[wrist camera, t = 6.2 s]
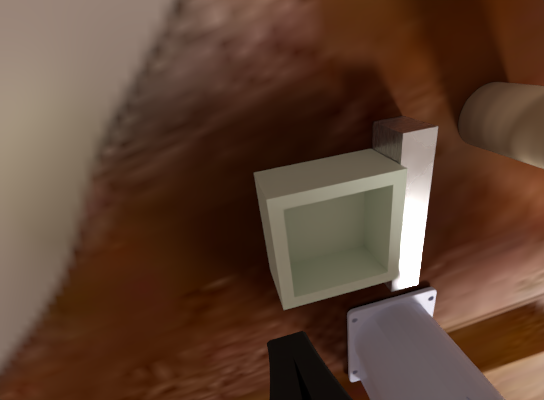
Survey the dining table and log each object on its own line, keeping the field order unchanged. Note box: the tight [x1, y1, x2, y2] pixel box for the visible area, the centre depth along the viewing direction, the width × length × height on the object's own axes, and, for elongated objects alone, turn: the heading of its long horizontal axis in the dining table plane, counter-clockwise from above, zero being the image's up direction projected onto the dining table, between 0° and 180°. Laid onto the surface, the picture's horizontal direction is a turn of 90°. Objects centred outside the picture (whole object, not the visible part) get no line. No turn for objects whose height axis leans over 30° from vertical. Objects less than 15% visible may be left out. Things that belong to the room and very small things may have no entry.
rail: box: [372, 116, 438, 292], centre depth 19 cm, size 11×2×3 cm, turn 8°
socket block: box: [254, 149, 408, 310], centre depth 18 cm, size 8×8×4 cm
